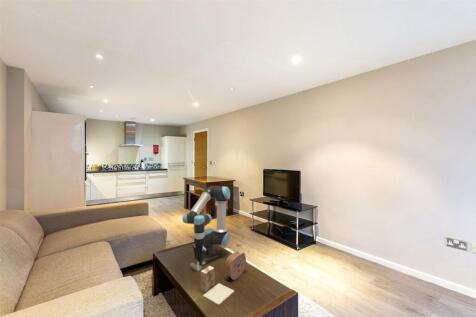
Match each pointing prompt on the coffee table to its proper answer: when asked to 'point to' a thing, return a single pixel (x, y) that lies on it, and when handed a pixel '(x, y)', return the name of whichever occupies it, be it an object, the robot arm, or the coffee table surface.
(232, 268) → the face sculpture
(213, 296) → the felt mat
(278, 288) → the coffee table surface
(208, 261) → the rubber mallet
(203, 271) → the wooden block
